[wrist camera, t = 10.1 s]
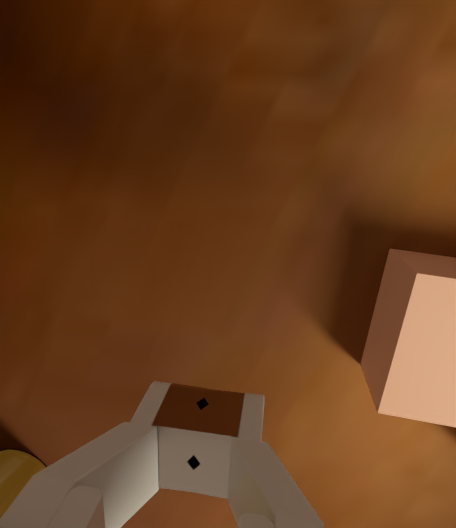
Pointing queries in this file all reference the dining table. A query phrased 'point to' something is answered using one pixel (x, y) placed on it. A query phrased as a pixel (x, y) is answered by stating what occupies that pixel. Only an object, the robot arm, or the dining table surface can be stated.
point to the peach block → (414, 339)
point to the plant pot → (15, 475)
